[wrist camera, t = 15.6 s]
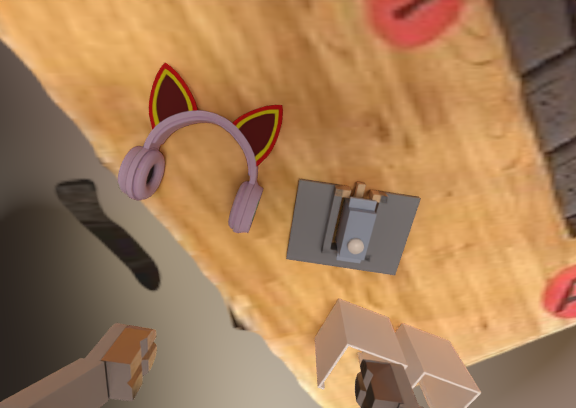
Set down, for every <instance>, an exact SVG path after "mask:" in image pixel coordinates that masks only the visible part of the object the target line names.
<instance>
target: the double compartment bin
mask: <svg viewBox="0 0 576 408" xmlns="http://www.w3.org/2000/svg"><path fill="white" fill-rule="evenodd" d="M348 346H350V347H353V348H355V349H358V350H361V351H362V353H360V352H358V353H357V354H358V359H359V363H360V364H361V361H362V360H363V359H366V360H374V361H382V362H388V363H395V364H402V366H403V367H404V369H405V372H406V374H407V377H408V379H409V382H410V384H411V387H412V389H413V388H414V387H415V385H416V384H417V383H418V382H419V384H420V387H421V389H422V391H423V394H424V396H425V399H426V401H427V404H428V406H429V408H467V407H468V405H469V404H470V403H472V402H473V400H475V399H476V398H477V397H478V396H479V395H480V394H481V391H480V390H479V388H478V387H477V385H476V383H475V382H474V380H473V379H472V377H471V375H470V373H469V372H468V370H467V368H466V367H465V365H464V364H463V362H462V360H461V359H460V357H459V355H458V354H457V352H456V350H455V349H454V347H453V346H452V344H451V342H450V341H448V340H446V339H443V338H441V337H438V336H435V335H433V334H430V333H428V332H425V331H422V330H420V329H417V328H415V327H412V326H409V325H407V324H404V323H402V324H401V325H400V327H399V328H398V329H397V331H396V332H394V329H393V327H392V324H391V322H390V319H389V317H386V316H383V315H381V314H378V313H376V312H373V311H370V310H368V309H365V308H363V307H360V306H358V305H355V304H352V303H350V302H347V301H345V300H342V299H338V301H337V302H336V304H335V305H334V307H333V309H332V310H331V312H330V314H329V315H328V317H327V318H326V320H325V322H324V323H323V325H322V327H321V328H320V330H319V332H318V333H317V335H316V336H315V350H316V367H317V384H318V388H321V389H324V388H325V387H324V381H325V380H326V378H327V377H328V375H329V374H330V372H331V371H332V370H333V368H334V367H335V365H336V364H337V362H338V361H339V359H340V358H341V356H342V355H343V353H344V352H345V350H346V349H347V348H348Z"/></svg>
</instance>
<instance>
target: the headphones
mask: <svg viewBox="0 0 576 408" xmlns="http://www.w3.org/2000/svg"><path fill="white" fill-rule="evenodd" d="M282 116H283V107H282V105H270V106H265V107H261V108H258V109H255V110H253V111H250V112H248V113H246V114H244V115H242V116H241V117H239V118H238V119H236V120H235V121H234V122H233V123H231V122H230V121H229V120H227V119H226V118H224V117H222V116H219V115H217V114H215V113H211V112H207V111H200V110H198V109H197V105H196V102H195V100H194V98H193V96H192V94H191V92H190V90H189V88H188V87H187V85H186V84H185V82H184V81H183V79H182V78H181V77H180V75H179V74H178V73H177V72H176V71H175V70H174V69H173V68H172V67H171V66H169V65H168V64H167V63H164V64H163V65H162V67H161V68H160V70H159V71H158V73H157V75H156V77H155V80H154V83H153V86H152V90H151V94H150V100H149V117H150V121H151V126H152V131H151V132H150V134H149V136H148V137H147V139H146V141H145V143H144V146H143V147H141V146H136V147H134V148H132V149H131V150H130V151H129V152H128V153H127V155H126V156H125V158H124V160H123V162H122V164H121V166H120V170H119V174H118V186H119V189H120V190H121V191H122V192H124V193H126V194H127V195H128V196H129V197H130V198H131V199H134V200H142V199H147V198H149V197H150V196H152V195H153V194H154V192H155V191H156V190H157V188H158V186H159V185H160V182H161V180H162V177H163V174H164V168H165V160H164V156H163V155H162V153H161V152H159V147H160V145H161V144H164V142H165V140H166V139H167V138H168V137H169V136H170V135H171V134H172V133H173V132H175V131H176V130H178V129H180V128H182V127H185V126H188V125H191V124H195V123H213V124H217V125H219V126H221V127H223V128H224V129H225V130H227V131H228V132H229V133H230V134H231V135H232V136H233V137H234V138H235V140H236V141H237V142H238V144H239V145H240V146H241V148H242V150H243V151H244V154H245V156H246V159H247V164H248V175H249V176H250V181H249V182H248V181H245V182H243V183H242V184H241V186H240V188H239V190H238V192H237V195H236V197H235V200H234V203H233V206H232V209H231V212H230V216H229V221H228V223H229V226H230V228H232V229H233V232H236V233H241V232H247V233H248V232H249V230H250V227H251V224H252V221H253V218H254V216H255V213H256V210H257V207H258V204H259V201H260V198H261V195H262V191H263V188H262V187H260V186H259V185H258V182H257V176H258V165H259V164H260V163H261V162H262V161H263V160H264V159H265V158H266V157H267V156H268V155H269V154H270V152H271V151H272V149H273V147H274V145H275V143H276V140H277V138H278V135H279V132H280V128H281V124H282Z"/></svg>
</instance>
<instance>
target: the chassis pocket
mask: <svg viewBox="0 0 576 408" xmlns="http://www.w3.org/2000/svg"><path fill="white" fill-rule="evenodd" d="M350 194H351V190H350V188H349V186H344V185H337V184H331V183H324V182H318V181H311V180H305V179H299V185H298V191H297V197H296V203H295V209H294V215H293V221H292V227H291V233H290V239H289V245H288V251H287V258H286V259H289V260H296V261H303V262H309V263H316V264H323V265H330V266H336V267H343V268H350V269H357V270H363V271H370V272H377V273H383V274H390V275H395V274H396V271H397V268H398V265H399V262H400V259H401V256H402V253H403V250H404V247H405V244H406V241H407V238H408V235H409V232H410V229H411V226H412V223H413V220H414V217H415V214H416V211H417V208H418V205H419V202H420V199H421V198H419V197H416V196H409V195H403V194H396V193H390V192H383V191H377V190H370V192H369V196H368V197H369V198H370V199H371V200H376V201H377V204H376V207H375V212H376V214H377V216H376V219H375V223H374V226H373V230H372V234H371V237H370V241H369V244H368V248H367V252H366V255H365V259H364V260H361V262H360V263H354V262H347V261H340V260H336V255H337V251H338V250H337V245H336V243H332V239H333V234H334V230H335V225H336V221H337V217H338V212H339V208H340V204H341V199H342V197H346V198H350Z"/></svg>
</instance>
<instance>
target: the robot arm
mask: <svg viewBox="0 0 576 408" xmlns="http://www.w3.org/2000/svg"><path fill="white" fill-rule="evenodd" d="M155 338H156V330H154V329H149V328H142V327H137V326H131V325H125V324H119V323H116V324H114V325H113V326H111V328H110V329H109V330H108V331H107V333H106V334H105V335H104V336H103V337H102V339H101V340H100V341H99V342H98V343H97V345H96V346H95V347H94V348H93V349H92V351H91V352H90V353H89V354H88V355H87V357H86V358H85V359H82V358H80V359H78V360H77V361H75V362H73V363H71V364H69V365H67V366H66V367H64V368H62V369H60V370H58V371H56V372H55V373H53V374H51V375H49V376H47V377H45V378H44V379H42V380H40V381H38V382H36V383H34V384H33V385H31V386H29V387H27V388H25V389H24V390H22V391H20V392H18V393H17V394H14V395H13V396H11V397H9V398H7V399H5V400H3V401H2V402H0V408H99V407H101V406H102V405H103V404H104V403H106V402H107V401H108V399H117V400H126V401H133V400H134V398H135V396H136V395H137V393H138V391H139V389H140V387H141V385H142V383H143V381H142V377H143V376H144V375H145V374H147V373H148V372H149V371H150V369H151V367H152V365H153V362H154V360H155V356H156V351H157V349H156V347H157V346H156V344H155V343H154V340H155ZM360 369H361V372H360V373H358V374H357V377H356V380H355V396H356V402H357V403H358V404H359V405H360V407H361V408H423V407H420V406H419V405H418V403H417V400H416V397H415V395H414V392H413V390H412V387H411V384H410V382H409V379H408V377H407V374H406V372H405V369H404V367H403V366H402V364H395V363H388V362H382V361H374V360H366V359H363V360H362V361H361V364H360Z"/></svg>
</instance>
